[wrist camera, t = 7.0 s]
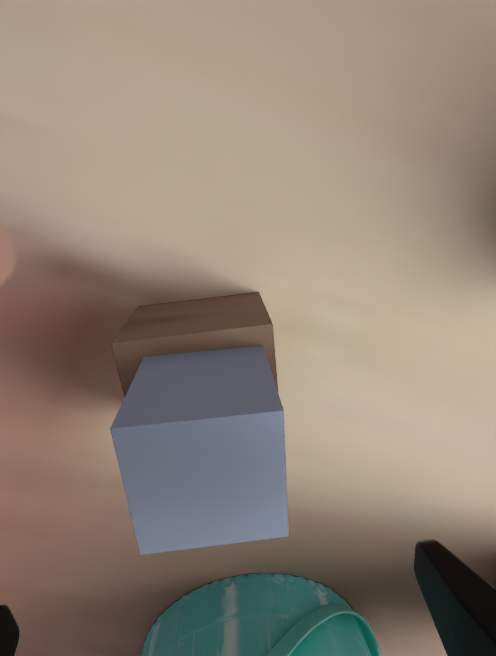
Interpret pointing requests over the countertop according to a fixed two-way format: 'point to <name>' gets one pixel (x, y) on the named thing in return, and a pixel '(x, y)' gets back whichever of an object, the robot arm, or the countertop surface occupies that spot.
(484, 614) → the robot arm
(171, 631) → the basket
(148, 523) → the cube
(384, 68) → the countertop surface
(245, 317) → the pedestal
